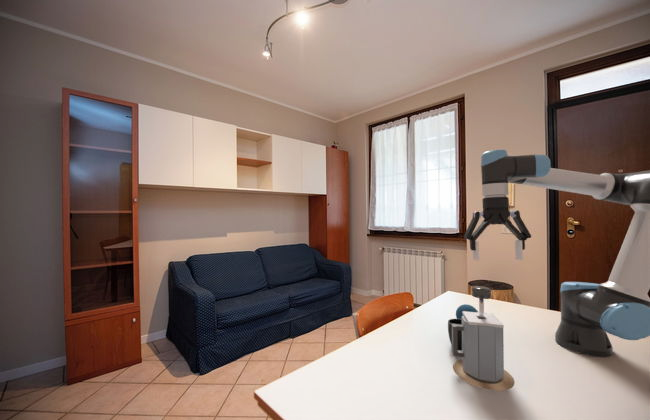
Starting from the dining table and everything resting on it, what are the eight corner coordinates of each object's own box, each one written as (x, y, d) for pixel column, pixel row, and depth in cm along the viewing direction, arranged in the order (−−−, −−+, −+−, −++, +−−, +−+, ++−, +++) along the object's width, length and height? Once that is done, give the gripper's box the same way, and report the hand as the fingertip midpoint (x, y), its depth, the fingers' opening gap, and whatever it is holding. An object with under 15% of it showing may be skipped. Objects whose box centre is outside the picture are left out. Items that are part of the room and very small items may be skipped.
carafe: (495, 366, 85) (495, 313, 85) (507, 386, 75) (507, 326, 76) (449, 360, 89) (449, 309, 89) (455, 378, 79) (455, 321, 79)
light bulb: (480, 333, 109) (480, 303, 109) (479, 342, 102) (478, 310, 102) (457, 329, 114) (457, 300, 114) (454, 336, 107) (454, 306, 107)
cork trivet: (502, 364, 87) (502, 362, 87) (524, 397, 72) (524, 395, 72) (448, 357, 92) (448, 355, 92) (458, 386, 76) (458, 384, 76)
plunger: (491, 324, 84) (491, 285, 85) (500, 335, 77) (500, 292, 77) (464, 322, 86) (464, 284, 87) (470, 332, 79) (470, 290, 79)
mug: (489, 353, 94) (488, 325, 94) (458, 356, 92) (458, 328, 92) (471, 342, 102) (471, 316, 102) (443, 345, 100) (443, 319, 100)
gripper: (527, 196, 94) (530, 257, 94) (452, 198, 97) (454, 258, 97) (542, 194, 87) (545, 261, 86) (460, 197, 89) (462, 262, 89)
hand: (497, 259), depth 91 cm, fingers open, 13 cm apart
